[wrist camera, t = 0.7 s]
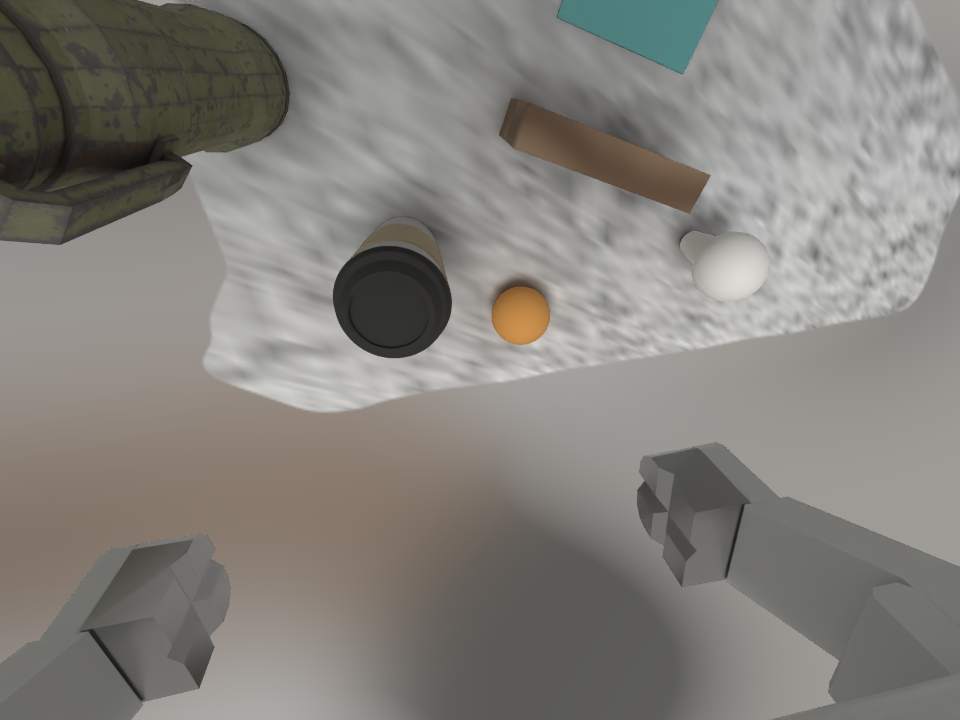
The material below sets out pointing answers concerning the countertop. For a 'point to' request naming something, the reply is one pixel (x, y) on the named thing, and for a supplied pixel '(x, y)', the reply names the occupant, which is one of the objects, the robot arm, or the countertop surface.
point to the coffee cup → (394, 291)
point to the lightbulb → (726, 263)
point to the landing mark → (645, 25)
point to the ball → (520, 315)
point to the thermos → (120, 107)
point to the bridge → (601, 156)
